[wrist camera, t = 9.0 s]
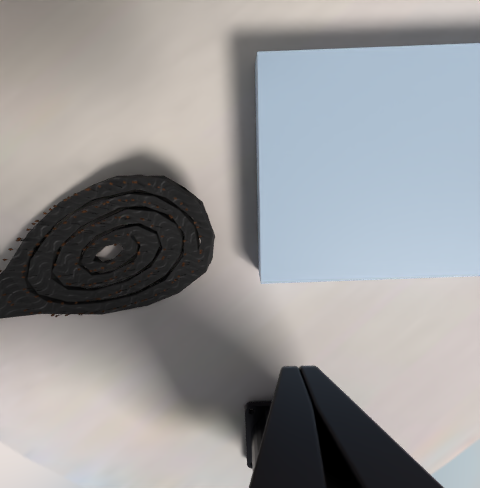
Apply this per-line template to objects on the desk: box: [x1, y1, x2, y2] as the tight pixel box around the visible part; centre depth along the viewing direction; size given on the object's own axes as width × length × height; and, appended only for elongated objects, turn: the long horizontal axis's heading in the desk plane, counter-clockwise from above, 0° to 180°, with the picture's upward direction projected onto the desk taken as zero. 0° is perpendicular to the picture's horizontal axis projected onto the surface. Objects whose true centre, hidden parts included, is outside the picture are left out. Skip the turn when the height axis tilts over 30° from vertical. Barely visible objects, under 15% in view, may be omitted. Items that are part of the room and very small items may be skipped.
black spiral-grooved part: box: [0, 175, 215, 318], centre depth 18 cm, size 8×4×25 cm
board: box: [255, 43, 480, 284], centre depth 16 cm, size 12×16×2 cm
